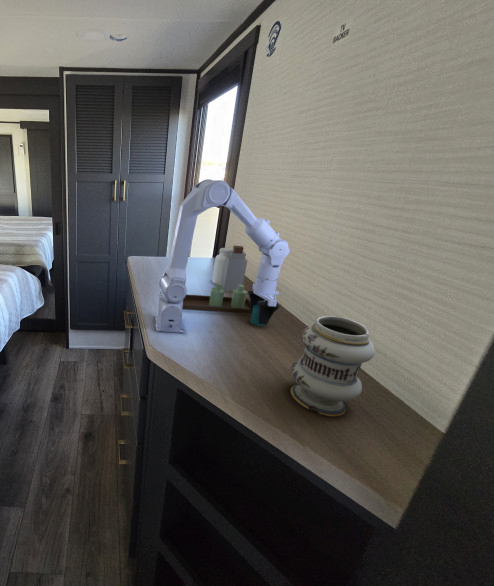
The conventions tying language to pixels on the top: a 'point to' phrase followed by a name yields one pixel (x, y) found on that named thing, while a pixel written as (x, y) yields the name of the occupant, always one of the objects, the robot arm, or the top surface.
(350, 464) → the top surface
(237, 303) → the green bottle far
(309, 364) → the apothecary jar
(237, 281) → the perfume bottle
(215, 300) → the green bottle middle
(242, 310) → the tray
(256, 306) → the teal bottle
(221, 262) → the pill bottle
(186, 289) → the robot arm
